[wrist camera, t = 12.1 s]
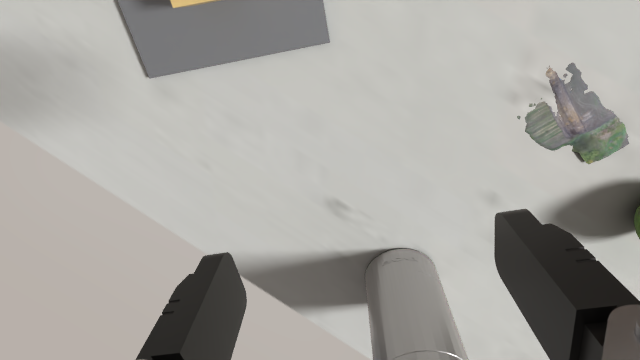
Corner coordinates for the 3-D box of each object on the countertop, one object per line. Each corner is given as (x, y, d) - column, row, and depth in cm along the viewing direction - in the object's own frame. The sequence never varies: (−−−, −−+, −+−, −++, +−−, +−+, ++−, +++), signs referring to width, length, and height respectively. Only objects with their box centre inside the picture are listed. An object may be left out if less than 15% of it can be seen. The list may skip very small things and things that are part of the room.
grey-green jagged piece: (450, 37, 34) (452, 38, 33) (525, -27, 31) (530, -27, 30) (557, 179, 39) (561, 183, 38) (629, 136, 36) (636, 140, 35)
